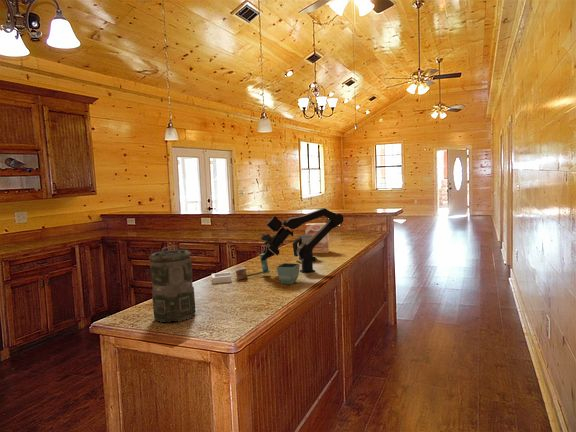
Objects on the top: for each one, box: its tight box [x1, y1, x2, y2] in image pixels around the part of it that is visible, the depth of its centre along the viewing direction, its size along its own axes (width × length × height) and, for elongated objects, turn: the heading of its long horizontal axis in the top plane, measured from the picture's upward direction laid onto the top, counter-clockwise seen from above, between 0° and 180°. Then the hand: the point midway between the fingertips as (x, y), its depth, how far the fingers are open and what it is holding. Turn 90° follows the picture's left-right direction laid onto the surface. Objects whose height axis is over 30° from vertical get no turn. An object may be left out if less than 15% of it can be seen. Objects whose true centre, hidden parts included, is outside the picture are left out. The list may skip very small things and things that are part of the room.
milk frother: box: [292, 233, 318, 262], centre depth 264 cm, size 14×16×15 cm
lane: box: [211, 271, 232, 284], centre depth 223 cm, size 10×10×3 cm
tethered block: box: [234, 253, 271, 281], centre depth 226 cm, size 18×5×10 cm, turn 102°
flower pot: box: [276, 262, 300, 285], centre depth 209 cm, size 9×9×9 cm
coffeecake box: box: [304, 222, 330, 254], centre depth 287 cm, size 15×7×20 cm, turn 81°
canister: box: [148, 244, 197, 323], centre depth 166 cm, size 16×16×28 cm
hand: (261, 259), depth 226 cm, fingers closed on tethered block, 3 cm apart
